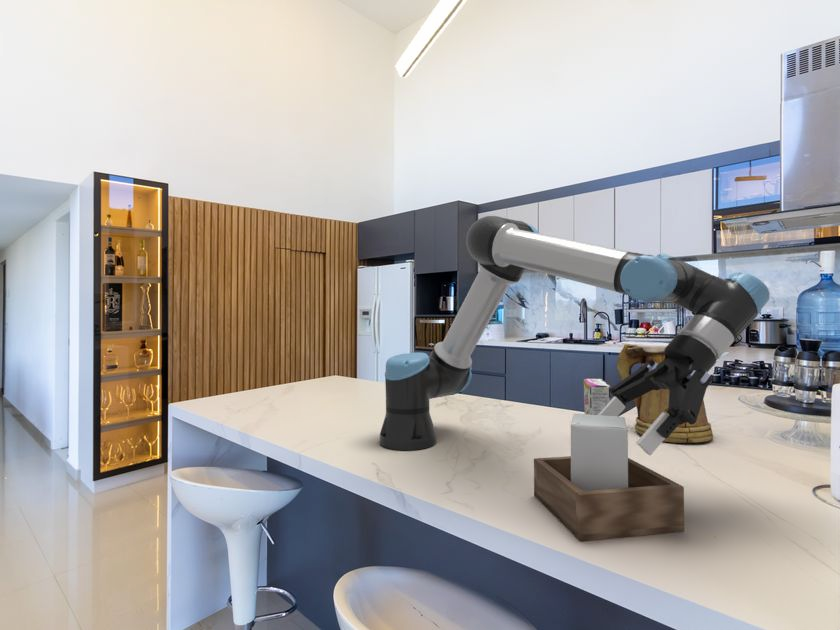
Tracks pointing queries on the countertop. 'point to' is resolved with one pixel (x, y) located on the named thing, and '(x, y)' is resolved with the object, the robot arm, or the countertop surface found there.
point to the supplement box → (599, 452)
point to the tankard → (659, 398)
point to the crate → (610, 502)
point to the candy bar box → (595, 396)
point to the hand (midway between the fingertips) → (618, 437)
